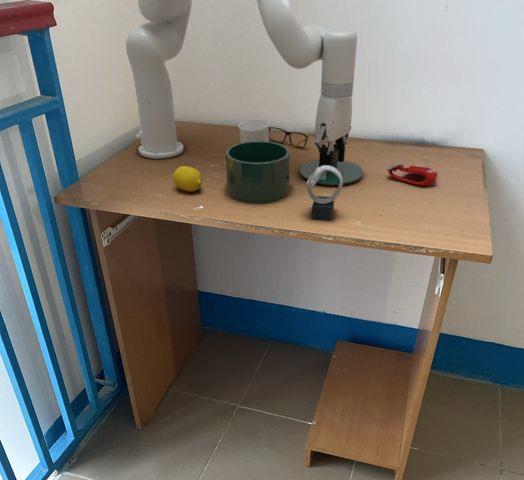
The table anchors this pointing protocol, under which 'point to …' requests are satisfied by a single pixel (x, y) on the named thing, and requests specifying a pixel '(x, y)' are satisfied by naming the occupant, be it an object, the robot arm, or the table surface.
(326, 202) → the watch
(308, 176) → the lid
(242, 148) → the pot
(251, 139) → the white cup
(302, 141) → the eyeglasses
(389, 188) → the table surface
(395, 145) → the table surface
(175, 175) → the lemon
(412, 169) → the tracker holder
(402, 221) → the table surface
